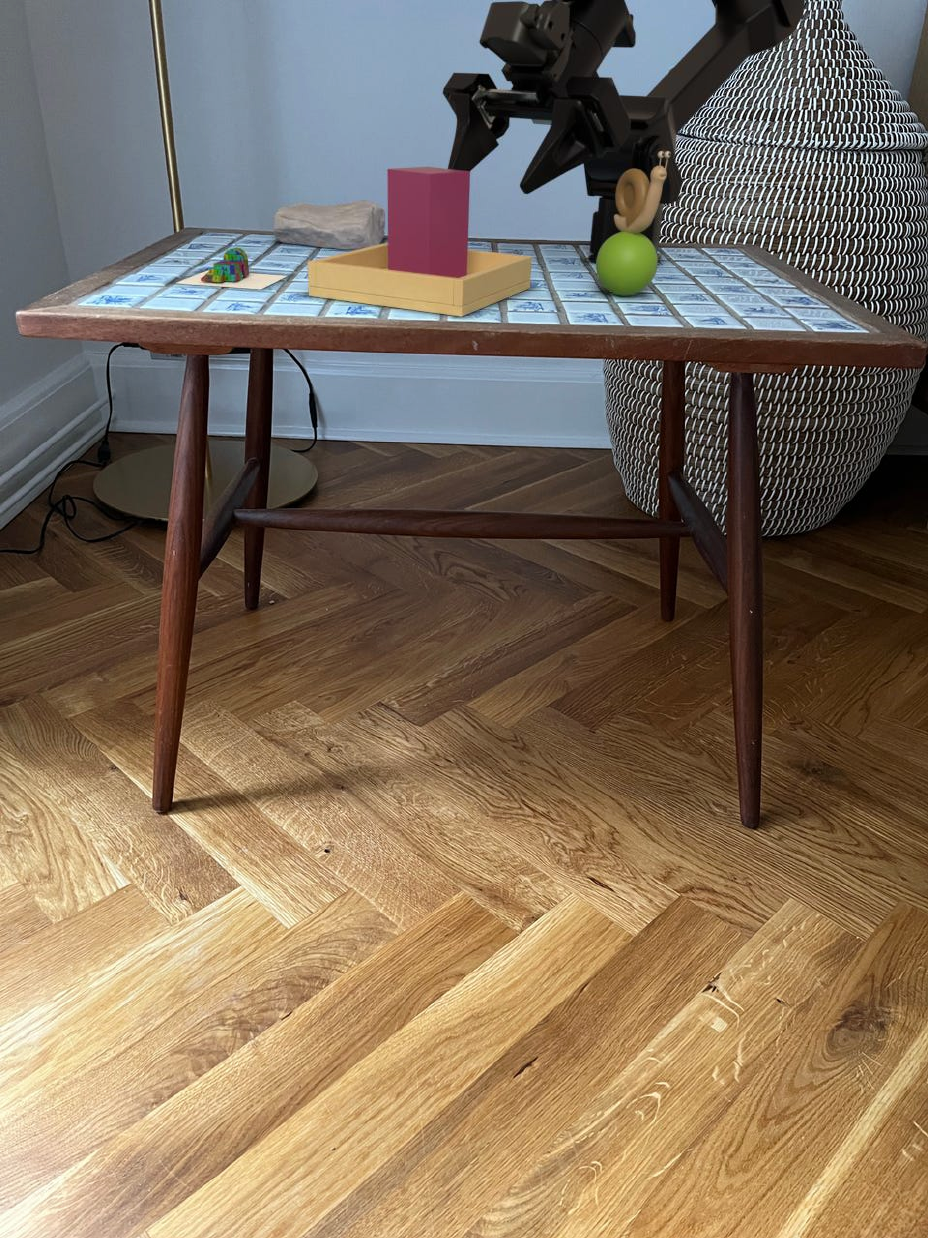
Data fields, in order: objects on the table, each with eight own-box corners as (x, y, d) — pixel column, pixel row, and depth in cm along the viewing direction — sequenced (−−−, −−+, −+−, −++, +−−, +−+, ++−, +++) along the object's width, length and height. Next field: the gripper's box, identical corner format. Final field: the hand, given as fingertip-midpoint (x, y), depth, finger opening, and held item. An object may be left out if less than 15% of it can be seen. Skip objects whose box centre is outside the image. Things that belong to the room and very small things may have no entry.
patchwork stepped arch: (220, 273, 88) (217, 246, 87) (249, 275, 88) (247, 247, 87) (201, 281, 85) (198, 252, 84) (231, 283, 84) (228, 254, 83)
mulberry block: (427, 273, 88) (428, 166, 84) (466, 281, 85) (470, 171, 81) (387, 279, 85) (387, 168, 80) (427, 288, 82) (429, 173, 77)
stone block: (374, 267, 104) (389, 235, 112) (370, 222, 101) (386, 192, 109) (269, 265, 105) (290, 234, 113) (262, 221, 102) (284, 191, 110)
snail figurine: (622, 305, 82) (639, 150, 76) (581, 291, 87) (594, 145, 81) (672, 301, 85) (692, 151, 79) (629, 287, 90) (645, 145, 84)
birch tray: (530, 288, 88) (532, 256, 86) (461, 316, 76) (462, 280, 75) (392, 271, 93) (391, 240, 92) (308, 295, 81) (306, 261, 80)
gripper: (459, -31, 86) (367, 108, 84) (626, -42, 74) (522, 119, 73) (514, 72, 94) (431, 199, 93) (670, 76, 83) (579, 221, 82)
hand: (485, 185), depth 85 cm, fingers open, 9 cm apart
